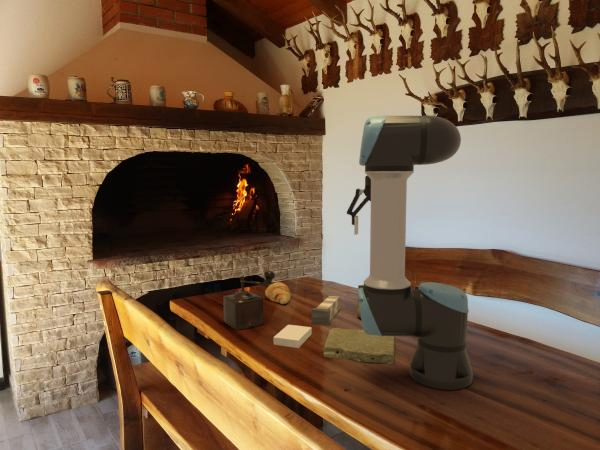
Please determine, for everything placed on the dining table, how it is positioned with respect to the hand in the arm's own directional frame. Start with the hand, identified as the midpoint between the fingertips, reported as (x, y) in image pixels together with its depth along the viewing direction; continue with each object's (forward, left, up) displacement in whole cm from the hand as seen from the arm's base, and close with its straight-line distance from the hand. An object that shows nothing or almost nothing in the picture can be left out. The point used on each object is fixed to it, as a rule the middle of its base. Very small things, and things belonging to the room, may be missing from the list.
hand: (375, 235), depth 162 cm
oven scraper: (-8, +15, -29) cm, 33 cm away
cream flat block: (-27, +19, -28) cm, 43 cm away
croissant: (+6, +40, -29) cm, 50 cm away
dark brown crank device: (-23, +38, -29) cm, 53 cm away
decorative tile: (-34, -2, -29) cm, 45 cm away
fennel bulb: (-7, +2, -29) cm, 30 cm away
